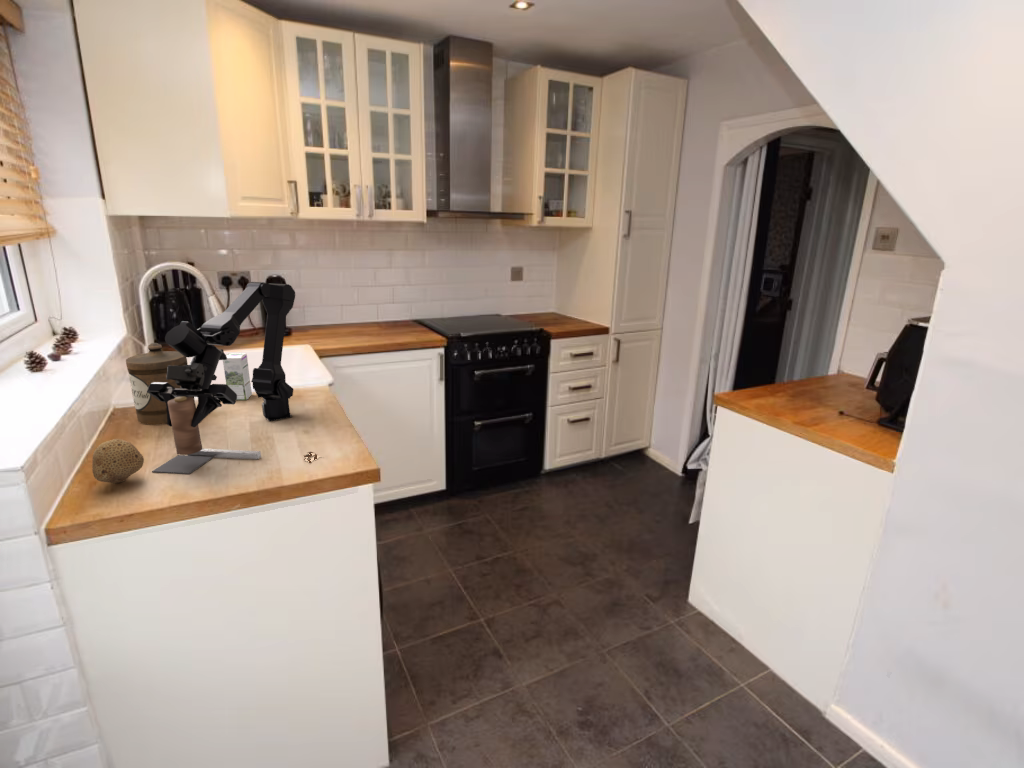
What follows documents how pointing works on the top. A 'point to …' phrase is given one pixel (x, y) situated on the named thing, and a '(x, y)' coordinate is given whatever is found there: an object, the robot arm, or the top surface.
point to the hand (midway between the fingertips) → (181, 426)
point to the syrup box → (238, 375)
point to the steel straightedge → (228, 453)
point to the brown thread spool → (184, 425)
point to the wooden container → (148, 371)
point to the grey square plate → (182, 464)
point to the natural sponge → (116, 461)
